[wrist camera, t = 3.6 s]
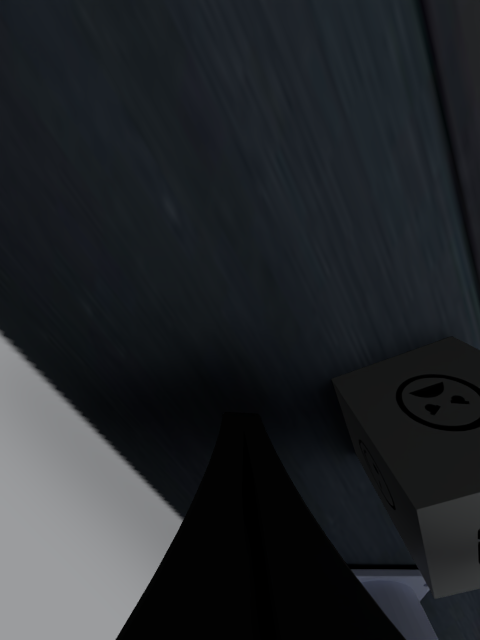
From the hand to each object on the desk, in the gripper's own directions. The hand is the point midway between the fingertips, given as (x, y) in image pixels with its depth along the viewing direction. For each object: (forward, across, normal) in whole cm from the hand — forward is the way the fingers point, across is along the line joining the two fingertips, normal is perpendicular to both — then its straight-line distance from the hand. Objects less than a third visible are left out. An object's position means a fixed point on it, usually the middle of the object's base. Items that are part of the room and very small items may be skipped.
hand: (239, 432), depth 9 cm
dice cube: (+2, -7, -1) cm, 7 cm away
